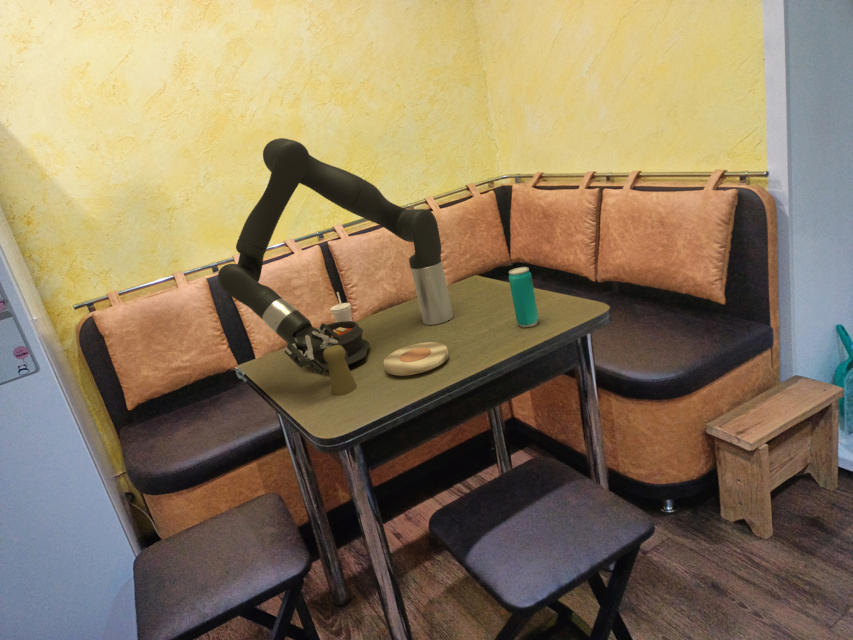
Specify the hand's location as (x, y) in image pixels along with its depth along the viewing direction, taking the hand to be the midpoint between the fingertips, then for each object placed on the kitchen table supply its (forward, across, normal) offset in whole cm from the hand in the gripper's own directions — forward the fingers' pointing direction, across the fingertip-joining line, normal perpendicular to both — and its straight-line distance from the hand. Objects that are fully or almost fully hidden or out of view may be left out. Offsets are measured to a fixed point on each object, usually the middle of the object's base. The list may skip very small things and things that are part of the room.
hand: (335, 364), depth 142 cm
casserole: (-6, +18, +15) cm, 24 cm away
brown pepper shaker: (+5, 0, +4) cm, 7 cm away
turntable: (+14, +14, -5) cm, 20 cm away
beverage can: (+28, +39, -19) cm, 52 cm away
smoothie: (-12, +34, +21) cm, 42 cm away
